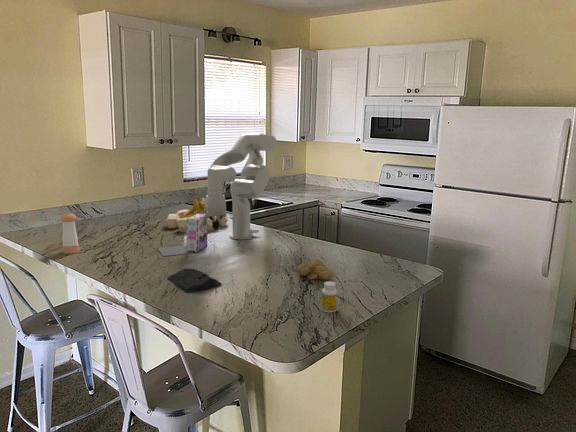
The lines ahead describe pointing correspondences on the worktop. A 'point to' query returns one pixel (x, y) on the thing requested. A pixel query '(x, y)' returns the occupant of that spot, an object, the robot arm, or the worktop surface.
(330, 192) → the worktop surface
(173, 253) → the mat
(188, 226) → the candy box
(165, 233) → the worktop surface
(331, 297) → the supplement bottle
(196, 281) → the dark slate chunk
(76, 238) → the salt shaker
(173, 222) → the campfire
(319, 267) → the ginger root
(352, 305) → the worktop surface
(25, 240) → the worktop surface
